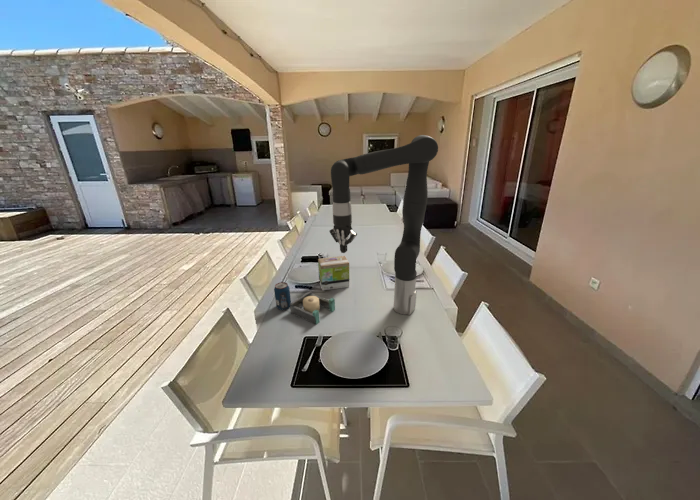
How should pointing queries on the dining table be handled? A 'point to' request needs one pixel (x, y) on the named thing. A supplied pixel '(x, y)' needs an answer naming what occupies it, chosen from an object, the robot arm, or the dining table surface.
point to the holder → (314, 317)
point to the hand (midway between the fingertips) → (343, 252)
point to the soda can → (282, 296)
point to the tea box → (333, 272)
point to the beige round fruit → (311, 304)
